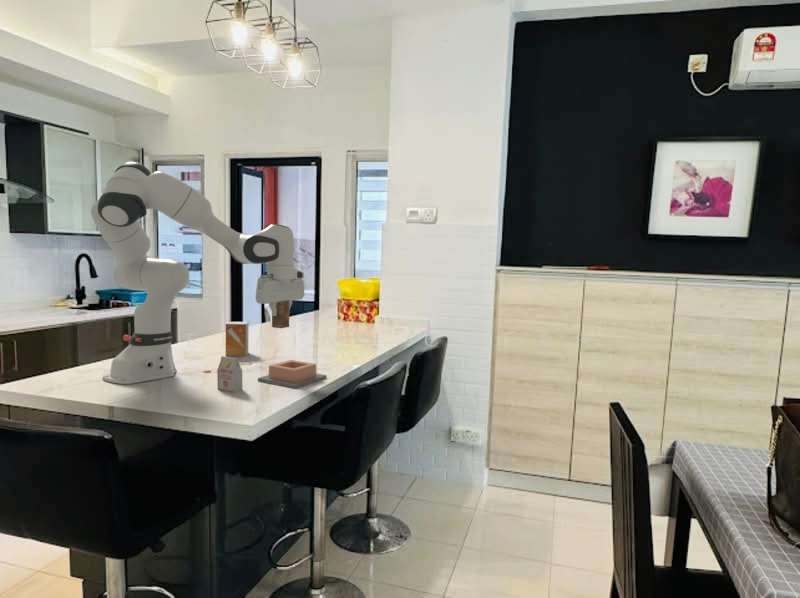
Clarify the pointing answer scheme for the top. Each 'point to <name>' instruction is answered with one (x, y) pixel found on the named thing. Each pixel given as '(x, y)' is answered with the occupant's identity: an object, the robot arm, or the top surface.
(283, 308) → the tall wooden block
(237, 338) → the small box
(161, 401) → the top surface
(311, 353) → the top surface
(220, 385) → the white carton
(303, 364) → the tan square frame
